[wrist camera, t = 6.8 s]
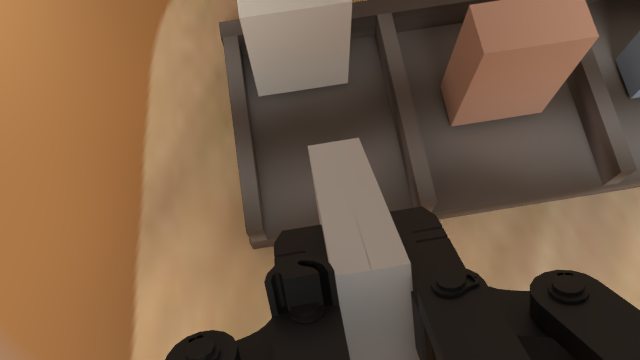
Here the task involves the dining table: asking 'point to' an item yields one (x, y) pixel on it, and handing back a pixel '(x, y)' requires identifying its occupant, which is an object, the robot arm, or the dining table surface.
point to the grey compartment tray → (432, 123)
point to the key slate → (631, 66)
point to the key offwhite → (296, 43)
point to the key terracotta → (514, 57)
